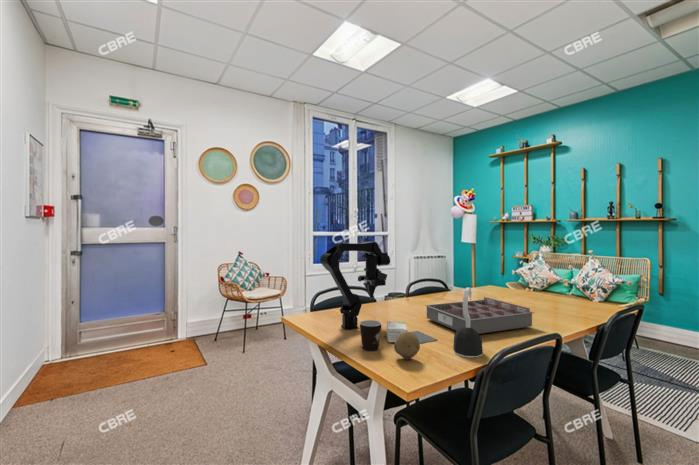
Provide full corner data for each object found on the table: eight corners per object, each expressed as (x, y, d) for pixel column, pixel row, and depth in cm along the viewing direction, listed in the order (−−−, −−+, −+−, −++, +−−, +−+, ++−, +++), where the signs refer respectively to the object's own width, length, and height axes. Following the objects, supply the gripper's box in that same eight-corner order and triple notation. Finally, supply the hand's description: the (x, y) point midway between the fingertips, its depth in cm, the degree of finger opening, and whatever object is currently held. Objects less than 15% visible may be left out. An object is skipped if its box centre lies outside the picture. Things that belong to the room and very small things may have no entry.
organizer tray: (424, 320, 174) (424, 301, 174) (484, 313, 189) (484, 296, 189) (466, 339, 144) (466, 316, 144) (534, 329, 159) (534, 308, 159)
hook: (456, 345, 136) (456, 284, 136) (485, 350, 130) (485, 286, 130) (449, 354, 126) (449, 288, 126) (480, 360, 120) (480, 291, 120)
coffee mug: (366, 353, 127) (366, 327, 127) (355, 346, 135) (355, 321, 134) (391, 348, 132) (392, 323, 132) (380, 342, 140) (380, 318, 140)
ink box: (405, 321, 152) (408, 331, 138) (405, 332, 152) (408, 343, 138) (386, 320, 153) (387, 330, 138) (386, 331, 153) (387, 342, 138)
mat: (402, 346, 134) (402, 345, 134) (384, 336, 147) (384, 335, 147) (437, 340, 142) (437, 339, 142) (417, 331, 155) (417, 330, 155)
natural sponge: (423, 364, 117) (423, 335, 117) (398, 365, 116) (398, 336, 116) (416, 354, 126) (416, 328, 126) (392, 355, 125) (392, 328, 125)
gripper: (394, 267, 163) (394, 299, 163) (375, 264, 180) (375, 293, 180) (375, 268, 158) (375, 301, 158) (357, 265, 175) (357, 294, 175)
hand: (371, 297), depth 168 cm, fingers closed
